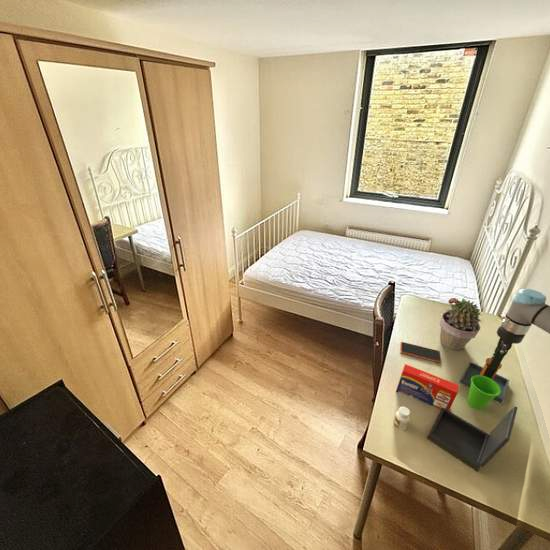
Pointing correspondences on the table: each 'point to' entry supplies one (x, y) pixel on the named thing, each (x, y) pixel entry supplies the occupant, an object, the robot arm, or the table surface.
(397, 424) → the pill bottle
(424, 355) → the smartphone
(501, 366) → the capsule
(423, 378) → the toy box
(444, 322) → the potted plant
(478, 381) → the cup
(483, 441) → the dark grey box base
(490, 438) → the lid
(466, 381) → the tray
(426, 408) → the table surface
